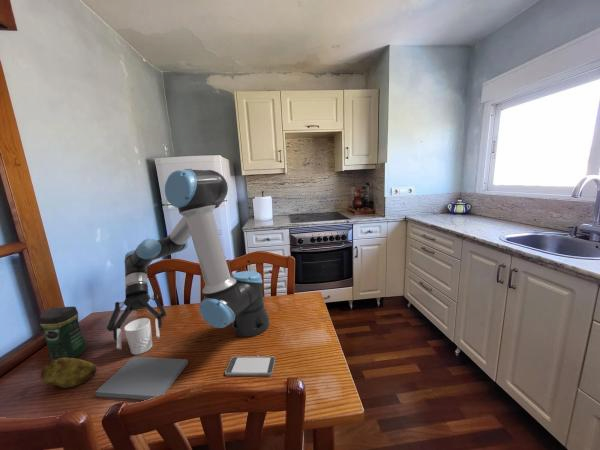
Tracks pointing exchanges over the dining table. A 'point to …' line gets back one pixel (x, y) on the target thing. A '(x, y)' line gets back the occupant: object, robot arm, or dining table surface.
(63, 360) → the potato
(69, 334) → the coffee jar
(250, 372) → the smartphone
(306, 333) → the dining table surface
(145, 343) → the white cup
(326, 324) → the dining table surface
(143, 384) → the grey board
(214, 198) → the robot arm
